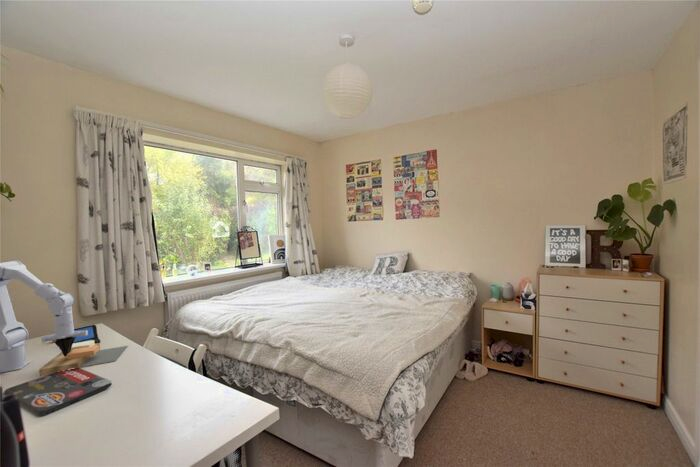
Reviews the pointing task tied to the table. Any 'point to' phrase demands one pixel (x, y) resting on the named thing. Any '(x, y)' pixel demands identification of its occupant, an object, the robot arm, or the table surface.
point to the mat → (104, 356)
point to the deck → (63, 363)
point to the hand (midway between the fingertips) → (67, 355)
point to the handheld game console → (91, 334)
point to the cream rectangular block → (82, 344)
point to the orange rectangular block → (83, 352)
